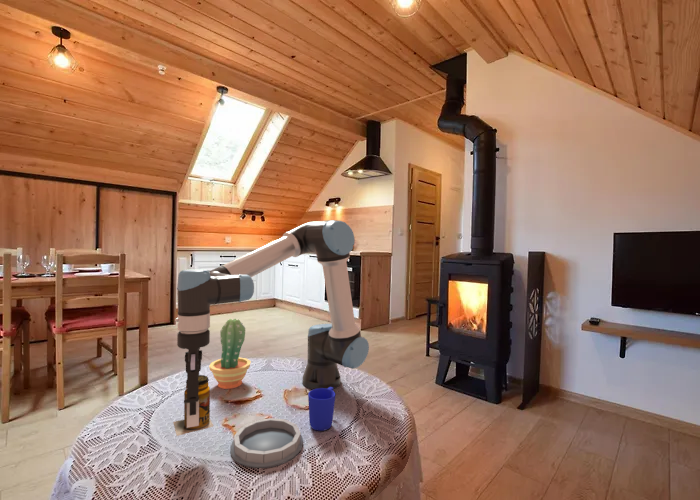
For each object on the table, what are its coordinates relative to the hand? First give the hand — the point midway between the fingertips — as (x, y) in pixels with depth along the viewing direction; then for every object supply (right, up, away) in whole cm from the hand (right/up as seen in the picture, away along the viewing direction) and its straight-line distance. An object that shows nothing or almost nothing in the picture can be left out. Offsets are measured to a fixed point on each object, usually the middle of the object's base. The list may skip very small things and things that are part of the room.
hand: (193, 419), depth 88 cm
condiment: (0, -2, 0) cm, 2 cm away
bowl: (+18, -10, +5) cm, 21 cm away
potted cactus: (-6, -9, +45) cm, 46 cm away
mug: (+32, -10, +18) cm, 38 cm away
